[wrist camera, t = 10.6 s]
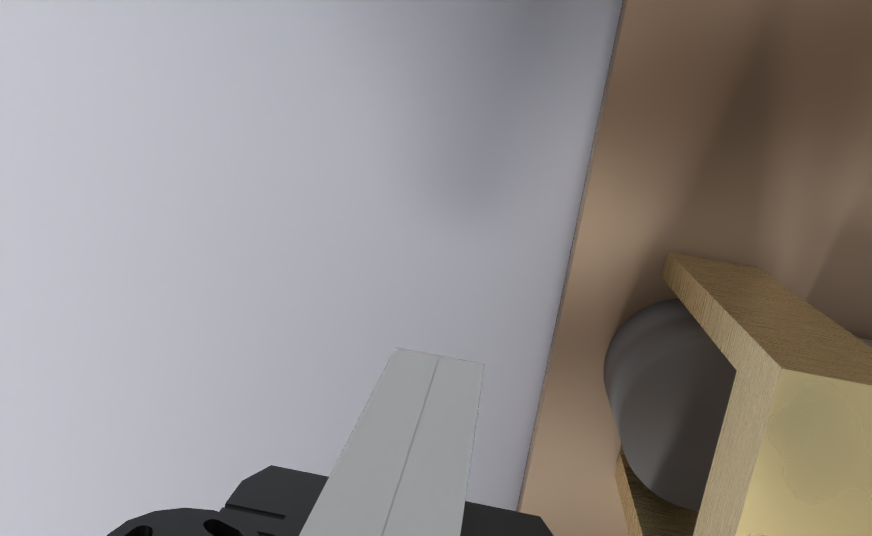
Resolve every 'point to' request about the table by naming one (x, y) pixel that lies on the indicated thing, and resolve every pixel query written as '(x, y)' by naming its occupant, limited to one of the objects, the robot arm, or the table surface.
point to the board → (699, 234)
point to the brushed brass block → (771, 415)
